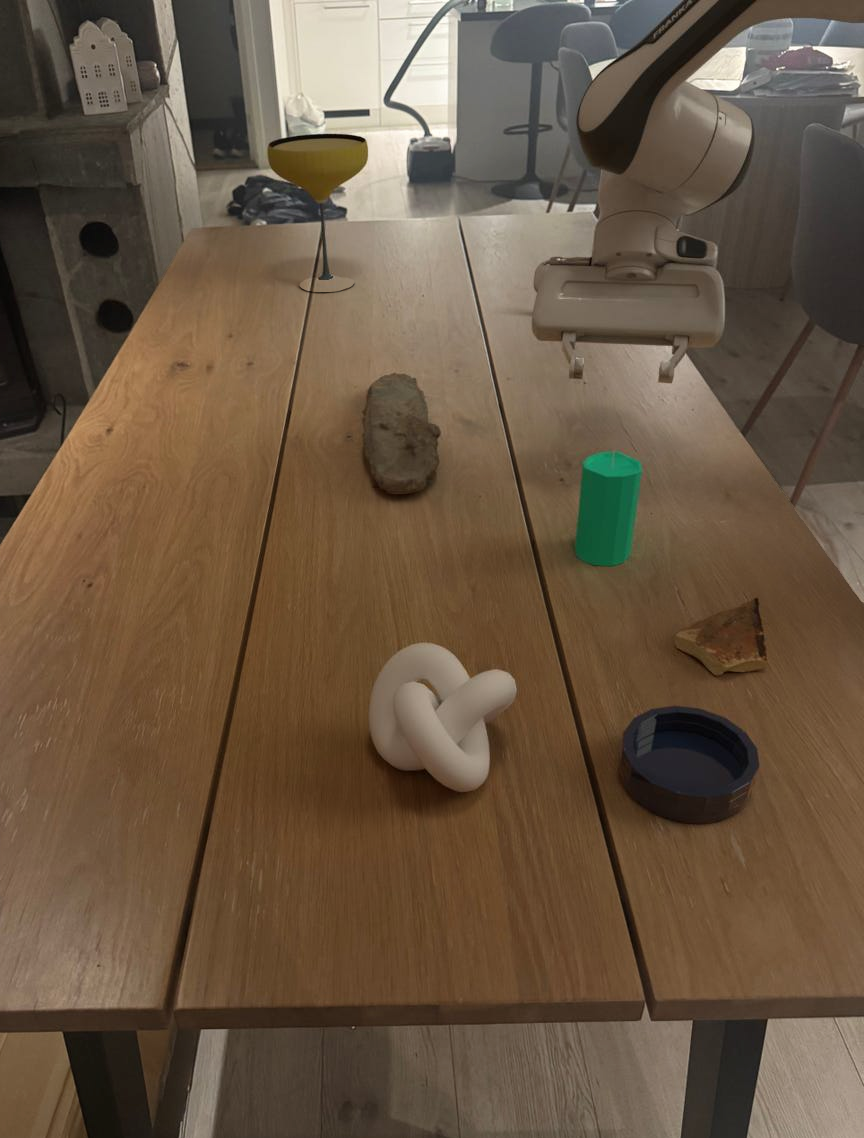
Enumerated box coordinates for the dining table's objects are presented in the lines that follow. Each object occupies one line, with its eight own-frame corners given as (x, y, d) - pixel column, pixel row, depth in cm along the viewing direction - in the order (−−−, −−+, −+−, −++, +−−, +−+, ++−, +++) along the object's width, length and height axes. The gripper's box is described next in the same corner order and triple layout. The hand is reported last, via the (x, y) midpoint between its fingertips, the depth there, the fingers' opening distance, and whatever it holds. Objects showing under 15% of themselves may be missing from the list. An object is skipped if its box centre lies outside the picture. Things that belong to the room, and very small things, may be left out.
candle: (605, 572, 101) (618, 468, 94) (562, 550, 104) (571, 449, 97) (642, 552, 104) (657, 450, 97) (598, 531, 107) (610, 432, 100)
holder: (768, 763, 77) (776, 735, 76) (724, 844, 71) (732, 815, 69) (648, 717, 82) (653, 690, 80) (597, 789, 76) (601, 761, 74)
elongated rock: (427, 396, 143) (361, 403, 144) (425, 361, 140) (357, 368, 141) (450, 495, 114) (367, 503, 114) (447, 454, 111) (362, 462, 111)
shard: (754, 609, 94) (757, 594, 93) (816, 649, 89) (821, 633, 88) (670, 643, 90) (673, 628, 89) (730, 687, 85) (734, 672, 84)
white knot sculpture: (468, 691, 86) (471, 609, 80) (548, 773, 77) (557, 687, 72) (356, 734, 82) (350, 651, 76) (427, 826, 73) (426, 739, 68)
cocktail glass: (276, 276, 192) (262, 137, 178) (365, 268, 195) (358, 130, 180) (285, 303, 178) (271, 154, 163) (380, 294, 180) (375, 147, 165)
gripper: (536, 241, 104) (522, 361, 102) (733, 245, 100) (722, 370, 98) (537, 271, 110) (524, 386, 108) (723, 276, 106) (713, 395, 104)
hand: (620, 379), depth 103 cm, fingers open, 8 cm apart
